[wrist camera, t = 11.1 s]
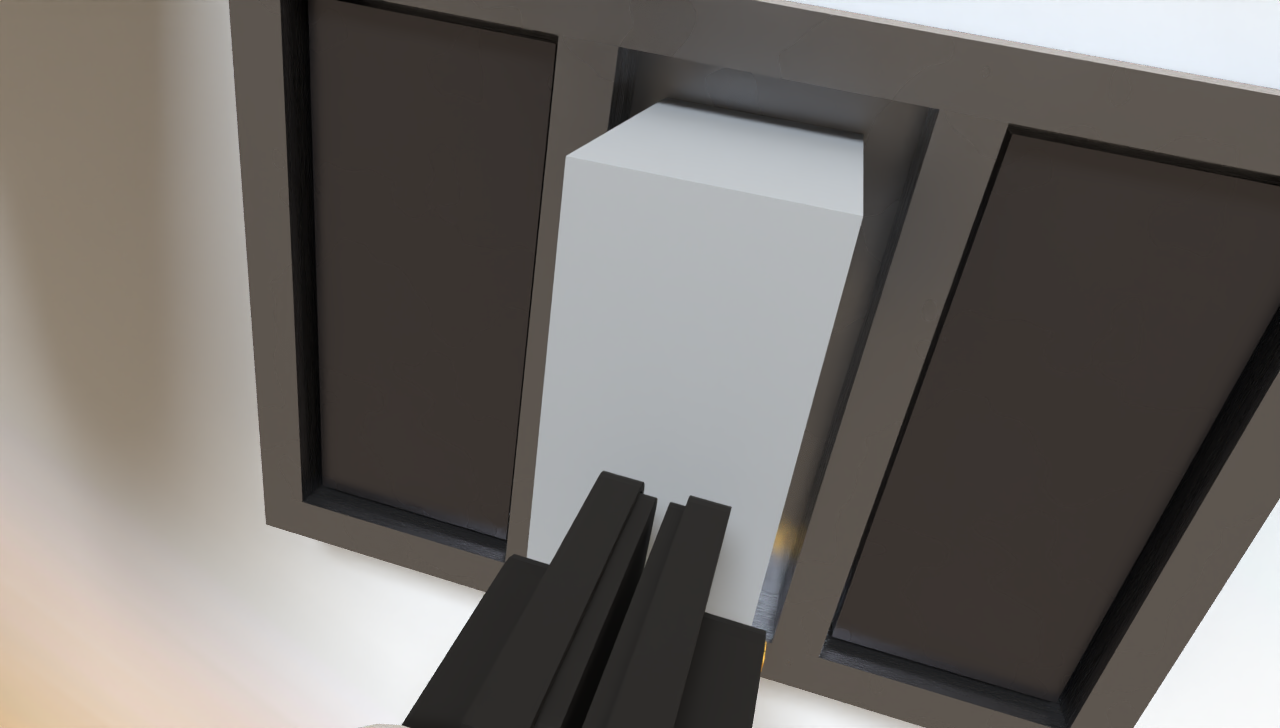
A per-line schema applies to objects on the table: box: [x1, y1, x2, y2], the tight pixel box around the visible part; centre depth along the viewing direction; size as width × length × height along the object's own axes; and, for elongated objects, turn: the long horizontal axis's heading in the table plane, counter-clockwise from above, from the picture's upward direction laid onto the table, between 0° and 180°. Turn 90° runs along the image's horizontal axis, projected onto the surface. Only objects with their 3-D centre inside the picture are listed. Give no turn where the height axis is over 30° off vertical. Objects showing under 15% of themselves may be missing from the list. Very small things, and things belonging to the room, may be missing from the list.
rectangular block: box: [527, 98, 863, 626], centre depth 14 cm, size 10×4×6 cm, turn 172°
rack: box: [229, 0, 1280, 728], centre depth 16 cm, size 13×19×3 cm
